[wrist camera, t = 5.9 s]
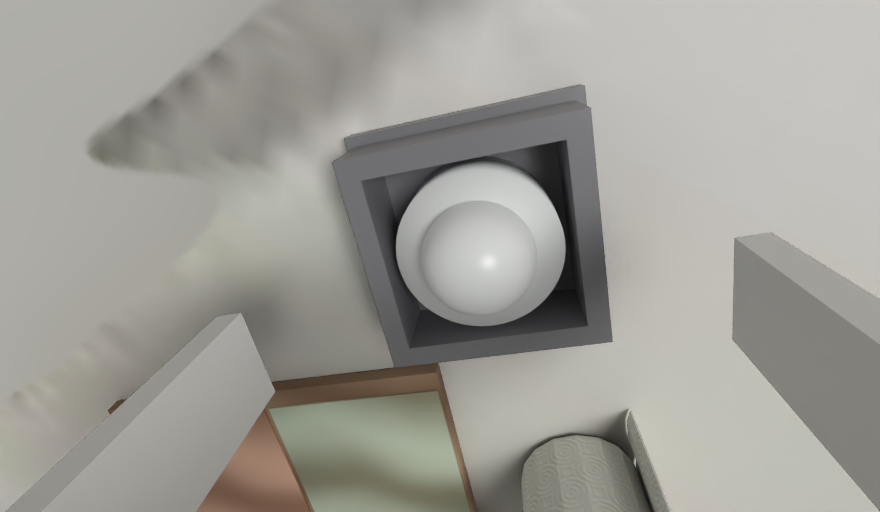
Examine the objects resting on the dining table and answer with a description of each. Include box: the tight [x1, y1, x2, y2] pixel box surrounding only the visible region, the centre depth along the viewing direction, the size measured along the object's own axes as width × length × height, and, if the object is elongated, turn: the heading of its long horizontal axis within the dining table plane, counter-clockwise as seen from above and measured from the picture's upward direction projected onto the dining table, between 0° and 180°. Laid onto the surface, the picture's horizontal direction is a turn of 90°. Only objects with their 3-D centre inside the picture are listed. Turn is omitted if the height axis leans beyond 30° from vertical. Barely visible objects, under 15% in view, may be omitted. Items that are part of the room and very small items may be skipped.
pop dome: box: [396, 156, 566, 326], centre depth 16 cm, size 6×6×5 cm
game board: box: [108, 363, 477, 512], centre depth 27 cm, size 14×19×1 cm
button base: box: [332, 85, 613, 368], centre depth 18 cm, size 9×9×4 cm
